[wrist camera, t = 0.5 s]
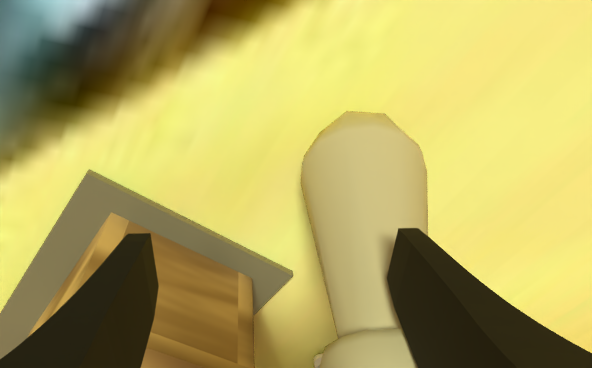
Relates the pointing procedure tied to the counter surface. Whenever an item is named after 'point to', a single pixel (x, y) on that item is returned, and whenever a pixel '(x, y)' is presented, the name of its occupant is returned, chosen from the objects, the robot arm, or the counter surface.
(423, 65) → the counter surface
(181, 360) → the oak crate
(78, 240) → the slate board
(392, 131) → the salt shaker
